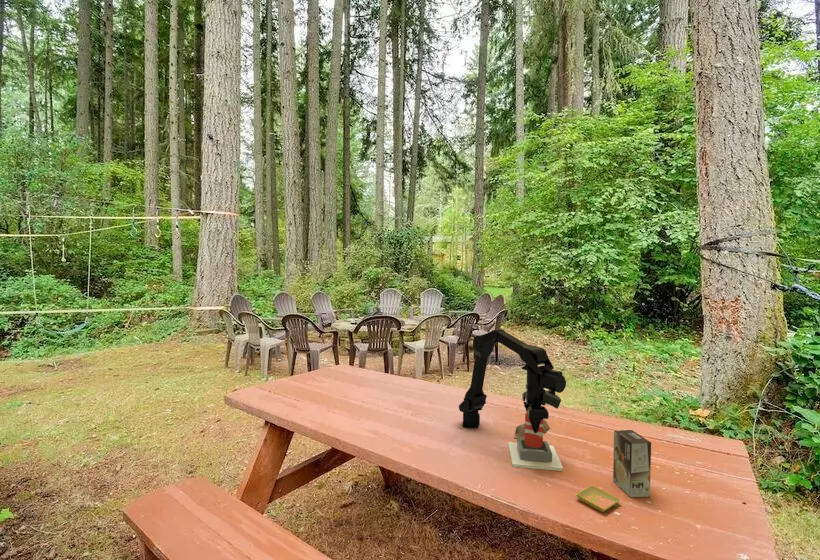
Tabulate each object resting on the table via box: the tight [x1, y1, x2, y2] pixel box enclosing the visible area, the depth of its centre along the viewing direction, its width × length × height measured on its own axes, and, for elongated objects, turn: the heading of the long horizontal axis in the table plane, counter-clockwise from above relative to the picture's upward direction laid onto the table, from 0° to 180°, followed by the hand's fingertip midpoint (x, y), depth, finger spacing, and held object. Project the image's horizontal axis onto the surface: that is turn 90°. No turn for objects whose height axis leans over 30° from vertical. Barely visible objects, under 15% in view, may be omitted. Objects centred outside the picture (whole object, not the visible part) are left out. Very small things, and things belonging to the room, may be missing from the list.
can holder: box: [507, 439, 564, 472], centre depth 137 cm, size 16×16×4 cm
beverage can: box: [524, 410, 545, 449], centre depth 137 cm, size 6×6×12 cm
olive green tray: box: [575, 485, 621, 513], centre depth 112 cm, size 9×9×2 cm
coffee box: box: [612, 429, 652, 498], centre depth 118 cm, size 9×6×16 cm
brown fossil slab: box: [513, 419, 551, 440], centre depth 161 cm, size 26×11×1 cm, turn 133°
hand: (534, 428), depth 137 cm, fingers closed on beverage can, 6 cm apart
